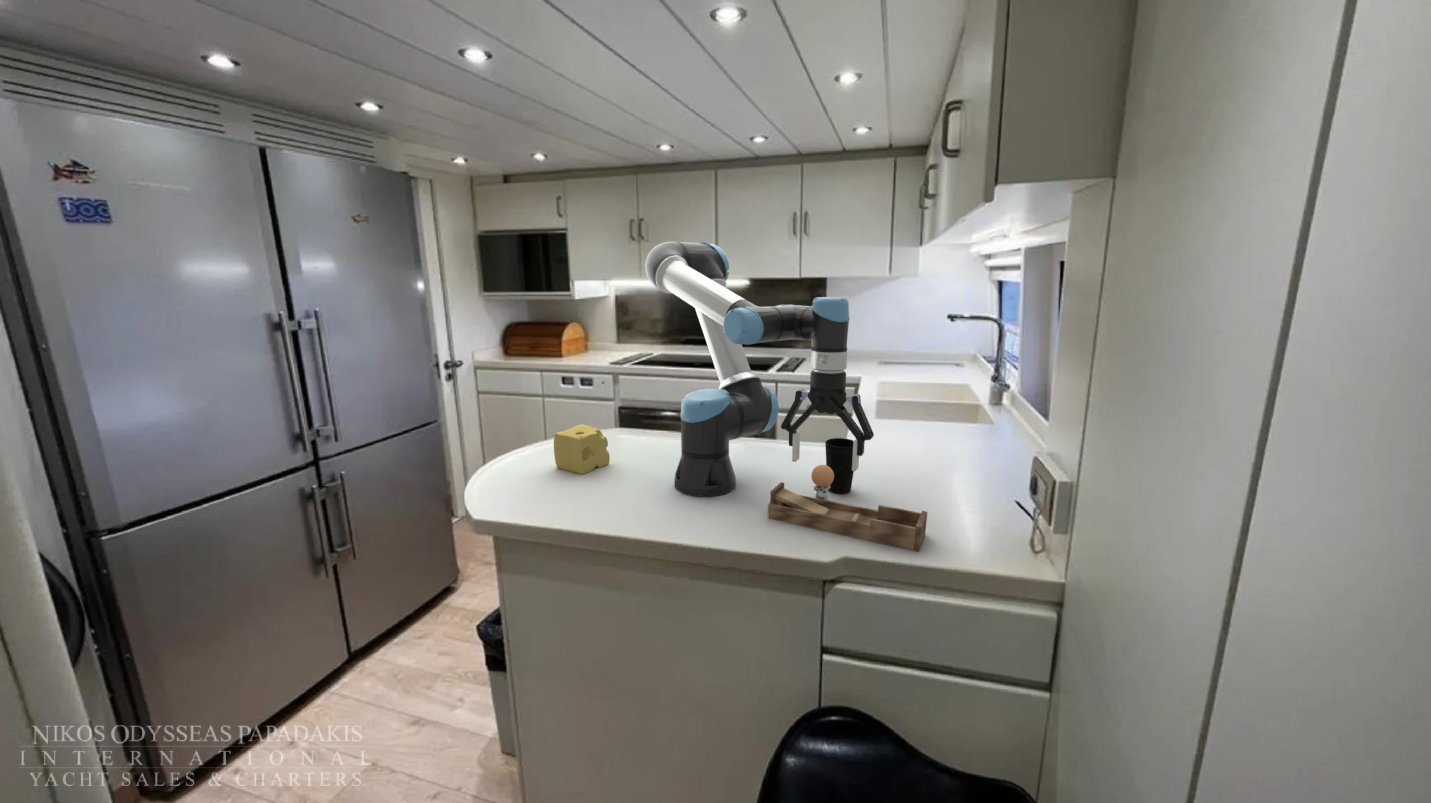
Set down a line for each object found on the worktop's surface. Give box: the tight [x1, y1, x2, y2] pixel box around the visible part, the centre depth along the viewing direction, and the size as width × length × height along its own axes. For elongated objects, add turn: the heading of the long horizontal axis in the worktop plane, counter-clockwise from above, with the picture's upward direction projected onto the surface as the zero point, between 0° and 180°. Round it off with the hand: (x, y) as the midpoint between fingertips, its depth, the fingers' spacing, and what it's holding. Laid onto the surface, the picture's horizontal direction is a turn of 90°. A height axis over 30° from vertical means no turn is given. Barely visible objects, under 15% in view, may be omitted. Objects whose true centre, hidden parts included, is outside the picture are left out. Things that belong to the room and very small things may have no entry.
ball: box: [810, 464, 834, 487], centre depth 126 cm, size 5×5×5 cm
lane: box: [767, 481, 928, 553], centre depth 116 cm, size 31×8×6 cm, turn 62°
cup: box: [824, 437, 855, 495], centre depth 135 cm, size 8×8×12 cm
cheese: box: [553, 423, 610, 475], centre depth 151 cm, size 10×11×10 cm
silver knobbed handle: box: [813, 485, 830, 501], centre depth 127 cm, size 5×5×5 cm
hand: (824, 464), depth 125 cm, fingers open, 13 cm apart
